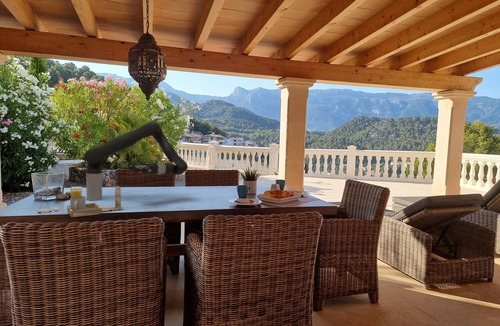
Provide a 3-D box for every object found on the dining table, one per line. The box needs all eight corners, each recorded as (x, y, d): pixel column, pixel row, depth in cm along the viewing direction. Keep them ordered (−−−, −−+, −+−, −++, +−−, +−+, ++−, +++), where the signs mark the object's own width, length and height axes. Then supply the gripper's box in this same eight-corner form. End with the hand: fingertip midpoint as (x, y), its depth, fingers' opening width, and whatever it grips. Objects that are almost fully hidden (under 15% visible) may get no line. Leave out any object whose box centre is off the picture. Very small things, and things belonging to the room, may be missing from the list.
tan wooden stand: (66, 211, 185) (66, 188, 184) (118, 205, 201) (117, 184, 200) (71, 217, 173) (70, 193, 172) (125, 210, 190) (125, 188, 188)
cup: (86, 211, 187) (86, 196, 186) (82, 216, 177) (82, 199, 176) (72, 211, 185) (72, 196, 184) (67, 216, 176) (67, 200, 175)
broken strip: (37, 211, 184) (37, 209, 183) (88, 206, 199) (88, 204, 199) (38, 213, 180) (38, 211, 179) (90, 207, 195) (90, 206, 195)
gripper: (152, 161, 214) (127, 161, 204) (161, 164, 203) (134, 164, 193) (152, 172, 215) (126, 173, 205) (160, 176, 203) (134, 177, 194)
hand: (130, 169), depth 199 cm, fingers open, 8 cm apart
